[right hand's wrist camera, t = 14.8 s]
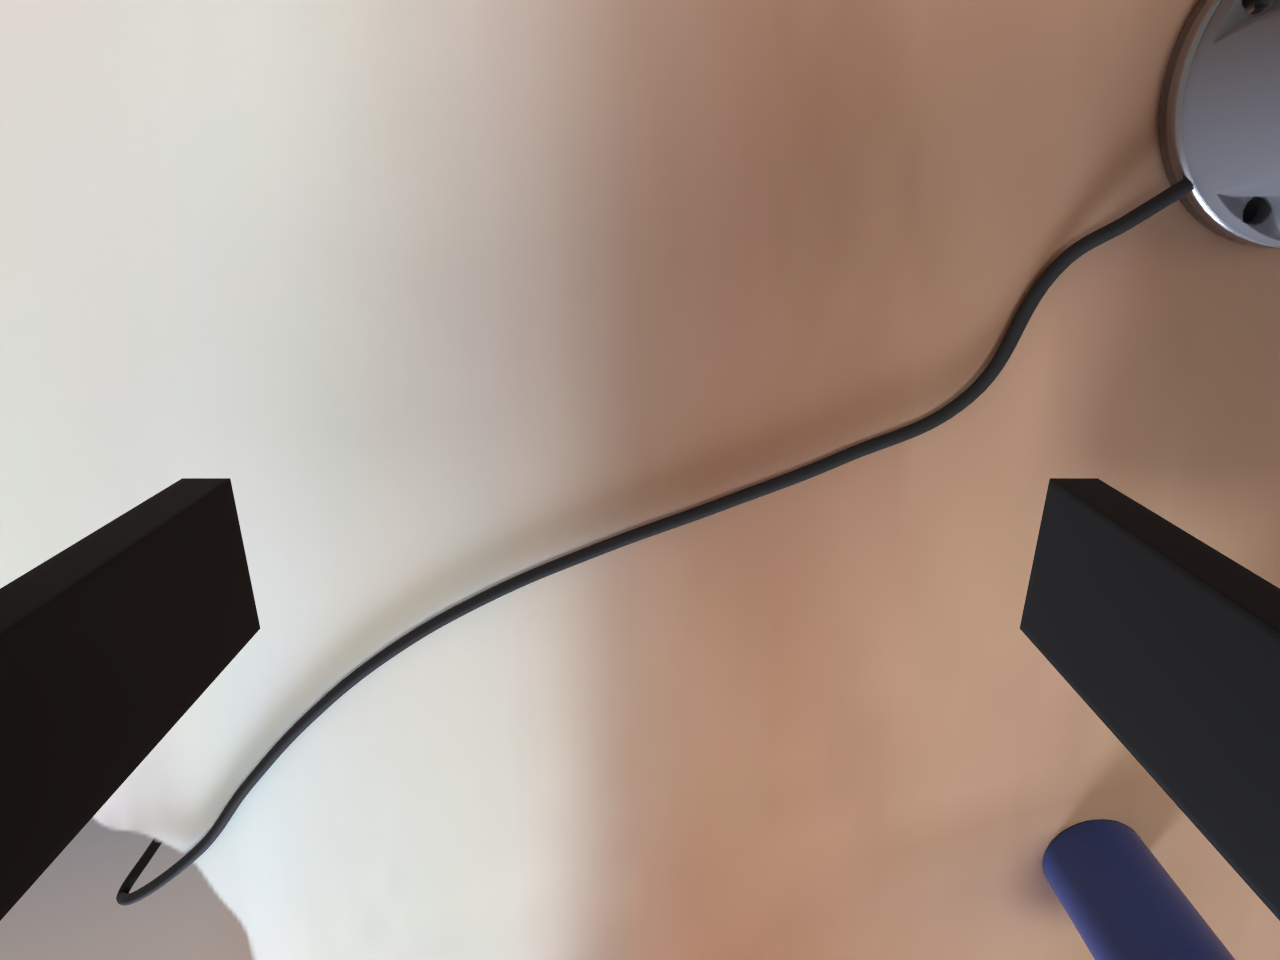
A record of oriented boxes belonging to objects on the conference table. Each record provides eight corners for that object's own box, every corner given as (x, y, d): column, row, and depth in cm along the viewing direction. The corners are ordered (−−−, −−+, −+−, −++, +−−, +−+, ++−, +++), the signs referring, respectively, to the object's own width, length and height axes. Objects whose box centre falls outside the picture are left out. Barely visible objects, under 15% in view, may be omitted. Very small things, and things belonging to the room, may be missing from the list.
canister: (1159, 829, 54) (1291, 990, 43) (1115, 901, 56) (1230, 1071, 45) (1066, 811, 53) (1176, 970, 42) (1026, 885, 55) (1121, 1053, 45)
